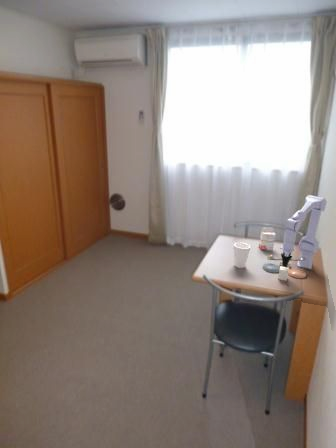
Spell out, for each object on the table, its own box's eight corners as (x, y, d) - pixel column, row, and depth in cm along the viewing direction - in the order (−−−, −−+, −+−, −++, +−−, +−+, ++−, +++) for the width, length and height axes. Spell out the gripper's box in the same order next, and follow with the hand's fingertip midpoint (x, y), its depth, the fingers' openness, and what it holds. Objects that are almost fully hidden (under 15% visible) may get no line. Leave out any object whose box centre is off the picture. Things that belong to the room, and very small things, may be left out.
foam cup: (247, 270, 189) (250, 249, 185) (231, 268, 191) (234, 247, 186) (247, 263, 198) (249, 243, 193) (231, 261, 199) (234, 241, 195)
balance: (266, 260, 202) (268, 249, 200) (303, 268, 194) (306, 257, 192) (265, 264, 198) (267, 252, 195) (303, 272, 190) (306, 260, 188)
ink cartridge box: (260, 250, 218) (263, 229, 213) (258, 247, 223) (261, 227, 218) (273, 250, 219) (276, 229, 214) (270, 247, 223) (274, 227, 218)
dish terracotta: (287, 268, 193) (288, 267, 193) (305, 272, 190) (306, 270, 189) (286, 275, 184) (287, 274, 184) (305, 279, 181) (305, 278, 181)
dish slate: (263, 263, 198) (264, 262, 198) (280, 267, 195) (281, 265, 194) (261, 270, 189) (261, 268, 189) (279, 274, 186) (279, 272, 186)
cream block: (278, 275, 185) (280, 266, 183) (287, 277, 183) (288, 267, 181) (277, 279, 181) (279, 269, 179) (286, 280, 179) (288, 271, 177)
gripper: (282, 235, 182) (278, 257, 186) (280, 243, 169) (276, 267, 174) (296, 237, 179) (291, 259, 184) (294, 246, 167) (290, 270, 171)
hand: (285, 263), depth 179 cm, fingers open, 7 cm apart
